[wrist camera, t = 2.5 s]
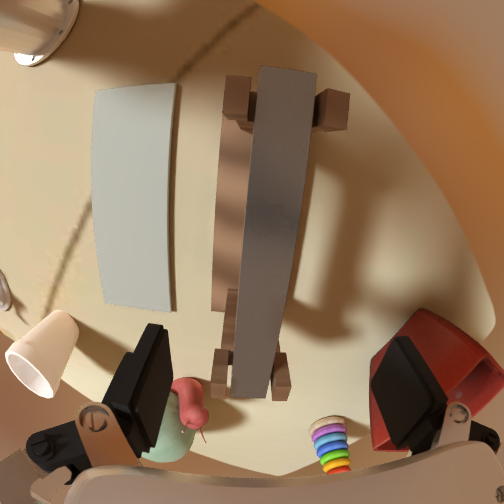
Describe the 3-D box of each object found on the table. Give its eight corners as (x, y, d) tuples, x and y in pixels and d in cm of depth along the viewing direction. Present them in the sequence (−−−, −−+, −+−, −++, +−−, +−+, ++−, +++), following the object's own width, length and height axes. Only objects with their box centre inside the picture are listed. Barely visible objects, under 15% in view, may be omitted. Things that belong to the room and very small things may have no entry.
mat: (98, 91, 24) (95, 91, 23) (176, 84, 24) (175, 82, 24) (107, 300, 34) (105, 303, 34) (172, 309, 35) (170, 312, 34)
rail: (258, 78, 14) (260, 65, 12) (305, 84, 15) (316, 73, 12) (231, 372, 24) (230, 396, 21) (263, 374, 24) (265, 398, 21)
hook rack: (225, 97, 25) (201, 48, 10) (310, 107, 26) (375, 75, 11) (212, 304, 35) (194, 405, 20) (281, 309, 35) (299, 410, 20)
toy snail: (148, 421, 47) (135, 473, 34) (119, 404, 45) (101, 456, 32) (227, 382, 41) (223, 454, 28) (192, 357, 39) (177, 433, 26)
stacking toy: (303, 433, 49) (314, 505, 32) (316, 415, 46) (332, 495, 29) (335, 431, 50) (350, 499, 32) (350, 413, 47) (371, 487, 29)
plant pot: (341, 367, 40) (369, 452, 25) (422, 280, 34) (488, 352, 19) (400, 389, 45) (429, 451, 29) (465, 323, 38) (511, 378, 23)
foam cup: (48, 291, 34) (3, 339, 22) (91, 323, 36) (54, 380, 24) (43, 326, 37) (7, 371, 25) (81, 354, 39) (52, 405, 27)
